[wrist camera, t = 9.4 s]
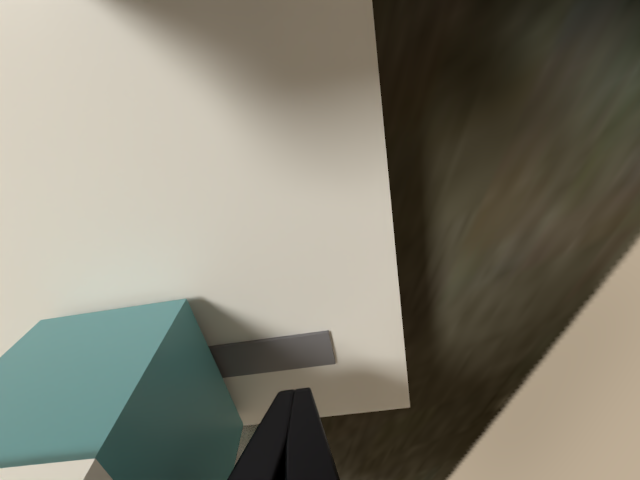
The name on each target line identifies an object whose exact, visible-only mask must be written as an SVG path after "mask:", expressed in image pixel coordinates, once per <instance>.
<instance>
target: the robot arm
mask: <svg viewBox="0 0 640 480" xmlns="http://www.w3.org/2000/svg"><path fill="white" fill-rule="evenodd" d="M227 480H340V479H339V476H338V472H337V469H336V466H335V463H334V460H333V457H332V453H331V450H330V447H329V444H328V441H327V438H326V435H325V431H324V428H323V425H322V422H321V419H320V416H319V412H318V409H317V406H316V403H315V400H314V397H313V393H312V390H311V388H309V387H307V388H299V389H295V390H294V389H291V390H283V391H280V392H278V393H277V395H276V397H275V398H274V400H273V402H272V404H271V405H270V407H269V409H268V410H267V412H266V414H265V415H264V417H263V419H262V421H261V422H260V424H259V426H258V427H257V429H256V431H255V433H254V434H253V436H252V438H251V439H250V441H249V443H248V444H247V446H246V448H245V450H244V451H243V453H242V455H241V456H240V458H239V460H238V461H237V463H236V465H235V467H234V468H233V470H232V472H231V473H230V475H229V477H228V479H227Z"/></svg>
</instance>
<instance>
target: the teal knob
mask: <svg viewBox="0 0 640 480" xmlns="http://www.w3.org/2000/svg"><path fill="white" fill-rule="evenodd" d="M242 428H243V422H242V420H241V418H240V416H239V413H238V411H237V409H236V407H235V404H234V402H233V400H232V398H231V396H230V393H229V391H228V389H227V387H226V385H225V382H224V380H223V378H222V376H221V374H220V371H219V369H218V367H217V365H216V363H215V360H214V358H213V356H212V354H211V351H210V349H209V347H208V345H207V343H206V340H205V338H204V336H203V334H202V332H201V329H200V327H199V325H198V323H197V321H196V318H195V316H194V314H193V312H192V310H191V307H190V305H189V303H188V301H187V298H186V299H180V300H173V301H166V302H159V303H152V304H146V305H139V306H132V307H125V308H118V309H112V310H105V311H98V312H91V313H85V314H78V315H71V316H64V317H57V318H51V319H44V320H40V321H39V322H38V323H37V324H36V325H35V326H34V327H33V328H31V329H30V330H29V331H28V332H27V333H26V334H25V335H24V336H23V337H22V338H21V339H20V340H18V341H17V342H16V343H15V344H14V345H13V346H12V347H11V348H10V349H9V350H8V351H6V352H5V353H4V354H3V355H2V356H1V357H0V480H227V479H228V477H229V475H230V473H231V472H232V470H233V468H234V464H235V460H236V455H237V451H238V446H239V442H240V437H241V433H242Z"/></svg>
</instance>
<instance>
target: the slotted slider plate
mask: <svg viewBox="0 0 640 480" xmlns="http://www.w3.org/2000/svg"><path fill="white" fill-rule="evenodd" d="M186 298H187V301H188V303H189V305H190V307H191V310H192V312H193V314H194V316H195V318H196V321H197V323H198V325H199V327H200V329H201V332H202V334H203V336H204V338H205V340H206V343H207V345H208V347H209V349H210V351H211V354H212V356H213V358H214V360H215V363H216V365H217V367H218V369H219V371H220V374H221V376H222V378H223V380H224V382H225V385H226V387H227V389H228V391H229V393H230V396H231V398H232V400H233V402H234V404H235V407H236V409H237V411H238V413H239V416H240V418H241V420H242V422H243V426H245V425H254V424H260V422H261V421H262V419H263V417H264V415H265V414H266V412H267V410H268V409H269V407H270V405H271V404H272V402H273V400H274V398H275V397H276V395H277V393H278V392H280V391H283V390H291V389H294V390H295V389H299V388H307V387H309V388H311V390H312V393H313V397H314V400H315V403H316V406H317V409H318V412H319V416H320V417H328V416H337V415H346V414H355V413H365V412H374V411H383V410H392V409H401V408H410V399H409V388H408V378H407V367H406V356H405V346H404V335H403V324H402V314H401V303H400V293H399V282H398V271H397V261H396V250H395V239H394V229H393V218H392V208H391V197H390V186H389V176H388V165H387V154H386V144H385V133H384V123H383V112H382V101H381V91H380V80H379V69H378V59H377V48H376V38H375V27H374V16H373V6H372V0H0V357H1V356H2V355H3V354H4V353H5V352H6V351H8V350H9V349H10V348H11V347H12V346H13V345H14V344H15V343H16V342H17V341H18V340H20V339H21V338H22V337H23V336H24V335H25V334H26V333H27V332H28V331H29V330H30V329H31V328H33V327H34V326H35V325H36V324H37V323H38V322H39V321H40V320H44V319H51V318H57V317H64V316H71V315H78V314H85V313H91V312H98V311H105V310H112V309H118V308H125V307H132V306H139V305H146V304H152V303H159V302H166V301H173V300H180V299H186Z"/></svg>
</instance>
